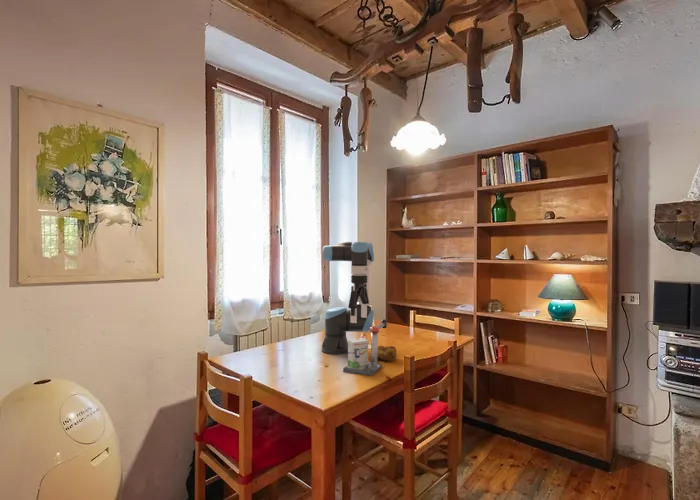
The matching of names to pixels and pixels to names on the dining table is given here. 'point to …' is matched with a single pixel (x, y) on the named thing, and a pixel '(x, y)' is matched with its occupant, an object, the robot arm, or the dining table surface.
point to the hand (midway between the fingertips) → (358, 320)
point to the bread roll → (387, 353)
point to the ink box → (357, 352)
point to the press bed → (372, 365)
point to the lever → (379, 326)
